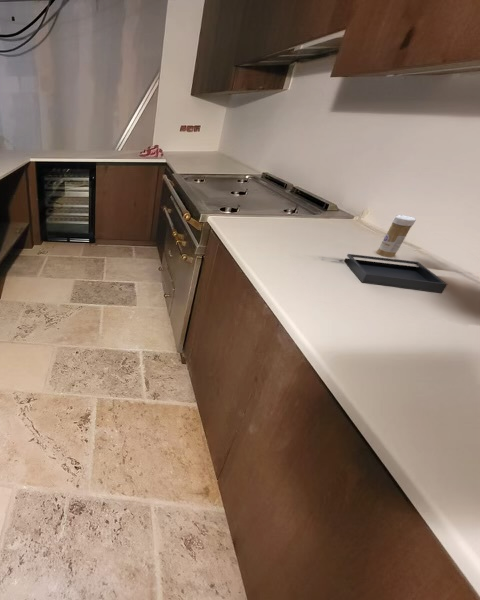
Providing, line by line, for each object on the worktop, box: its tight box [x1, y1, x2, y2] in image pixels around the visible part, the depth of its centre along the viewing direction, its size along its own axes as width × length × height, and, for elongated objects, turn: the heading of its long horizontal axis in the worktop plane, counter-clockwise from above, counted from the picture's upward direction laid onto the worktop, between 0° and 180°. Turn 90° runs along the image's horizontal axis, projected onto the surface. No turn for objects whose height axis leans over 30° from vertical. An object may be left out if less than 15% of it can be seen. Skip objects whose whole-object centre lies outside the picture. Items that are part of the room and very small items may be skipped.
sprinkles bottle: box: [376, 214, 417, 258], centre depth 95 cm, size 5×5×14 cm
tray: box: [344, 253, 449, 294], centre depth 89 cm, size 17×14×2 cm
